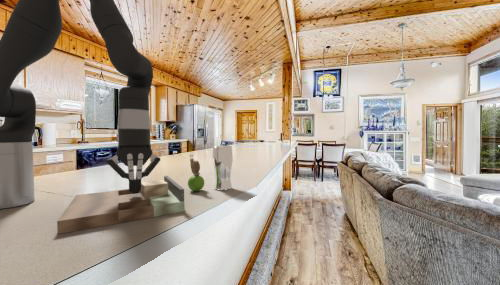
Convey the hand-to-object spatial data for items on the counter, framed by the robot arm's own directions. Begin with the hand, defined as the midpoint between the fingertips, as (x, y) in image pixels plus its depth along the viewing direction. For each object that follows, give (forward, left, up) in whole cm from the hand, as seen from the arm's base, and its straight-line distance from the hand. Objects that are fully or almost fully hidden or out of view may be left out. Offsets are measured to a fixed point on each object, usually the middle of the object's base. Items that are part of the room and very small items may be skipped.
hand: (135, 192), depth 58 cm
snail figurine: (+8, +19, -4) cm, 20 cm away
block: (+3, +4, -1) cm, 5 cm away
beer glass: (+16, +24, -4) cm, 29 cm away
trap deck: (-1, -1, -4) cm, 4 cm away
